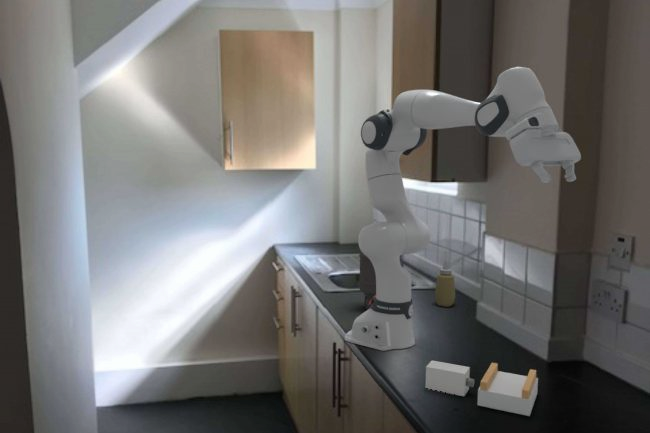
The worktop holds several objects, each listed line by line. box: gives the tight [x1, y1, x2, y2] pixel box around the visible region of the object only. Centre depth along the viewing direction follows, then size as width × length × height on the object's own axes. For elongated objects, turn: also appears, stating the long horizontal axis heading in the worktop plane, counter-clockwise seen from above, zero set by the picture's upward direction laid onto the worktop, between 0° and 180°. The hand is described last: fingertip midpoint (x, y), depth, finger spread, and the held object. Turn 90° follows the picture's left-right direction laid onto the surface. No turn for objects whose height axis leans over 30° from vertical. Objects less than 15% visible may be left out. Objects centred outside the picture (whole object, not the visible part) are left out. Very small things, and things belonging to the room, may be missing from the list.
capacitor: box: [358, 250, 376, 311], centre depth 218 cm, size 14×14×30 cm
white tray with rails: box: [477, 362, 539, 417], centre depth 140 cm, size 12×14×6 cm
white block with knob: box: [425, 360, 475, 397], centre depth 146 cm, size 12×5×6 cm, turn 63°
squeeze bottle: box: [434, 259, 456, 307], centre depth 224 cm, size 8×8×18 cm
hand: (559, 181), depth 129 cm, fingers open, 8 cm apart
